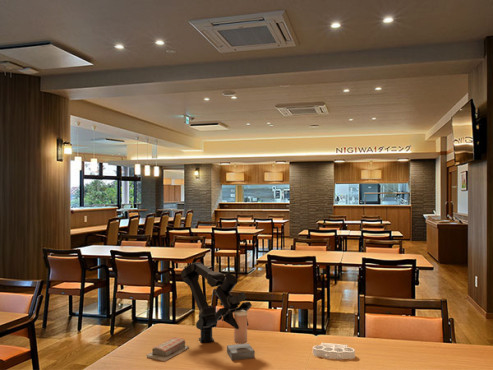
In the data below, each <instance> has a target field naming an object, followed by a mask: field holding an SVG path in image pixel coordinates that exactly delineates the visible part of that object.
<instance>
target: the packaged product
mask: <svg viewBox="0 0 493 370" xmlns="http://www.w3.org/2000/svg"><path fill="white" fill-rule="evenodd" d="M189 348H190V346H187V345H186V340H185V339H184V338H181V337H172V338H170V339H168V340H166V341H164V342H163V343H160V344H158V345H156V346H154V347H153V348H152V351H151V352H150V353H147V354H146V358H149V359H153V360H156V361H163V362H166V361H169V360H170V358H171V359H172V358H173V357H175V356H177V355H180V353H181V354H182V352H185V350H188V349H189Z"/></svg>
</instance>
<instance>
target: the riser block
mask: <svg viewBox="0 0 493 370" xmlns="http://www.w3.org/2000/svg"><path fill="white" fill-rule="evenodd" d="M226 353H227V355H228V357H229V358H230V359H231V361H239V360H247V359H248V360H249V359H255V354H256V353H255V349H254V348H253V347H252V346H251V344H250V343H249V342H247V343H244V344H237V343H235V344H228V345H226Z"/></svg>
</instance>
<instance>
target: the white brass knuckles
mask: <svg viewBox="0 0 493 370" xmlns="http://www.w3.org/2000/svg"><path fill="white" fill-rule="evenodd" d="M312 355H313V356H315V357H321V358H324V359H329V360H331V359H332V360H333V359H334V360H353V359H355V358H356V350H355V348H353V347H349V345H348V344H338V343H330V342H329V343H328V342H327V343H326V342H321V343H320V344H315V345H314V346H312Z"/></svg>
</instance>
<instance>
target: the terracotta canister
mask: <svg viewBox="0 0 493 370" xmlns="http://www.w3.org/2000/svg"><path fill="white" fill-rule="evenodd" d="M233 317H234V319H235V321H236V323H237V325H238V327H239V329H236V328H234V327H233V328H234V329H233V331H234V333H233V335H234V338H233V340H234V343H235V344H246V343H248V326H247V320H248V311H245V310H237V311H235V312H234V313H233Z"/></svg>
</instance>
